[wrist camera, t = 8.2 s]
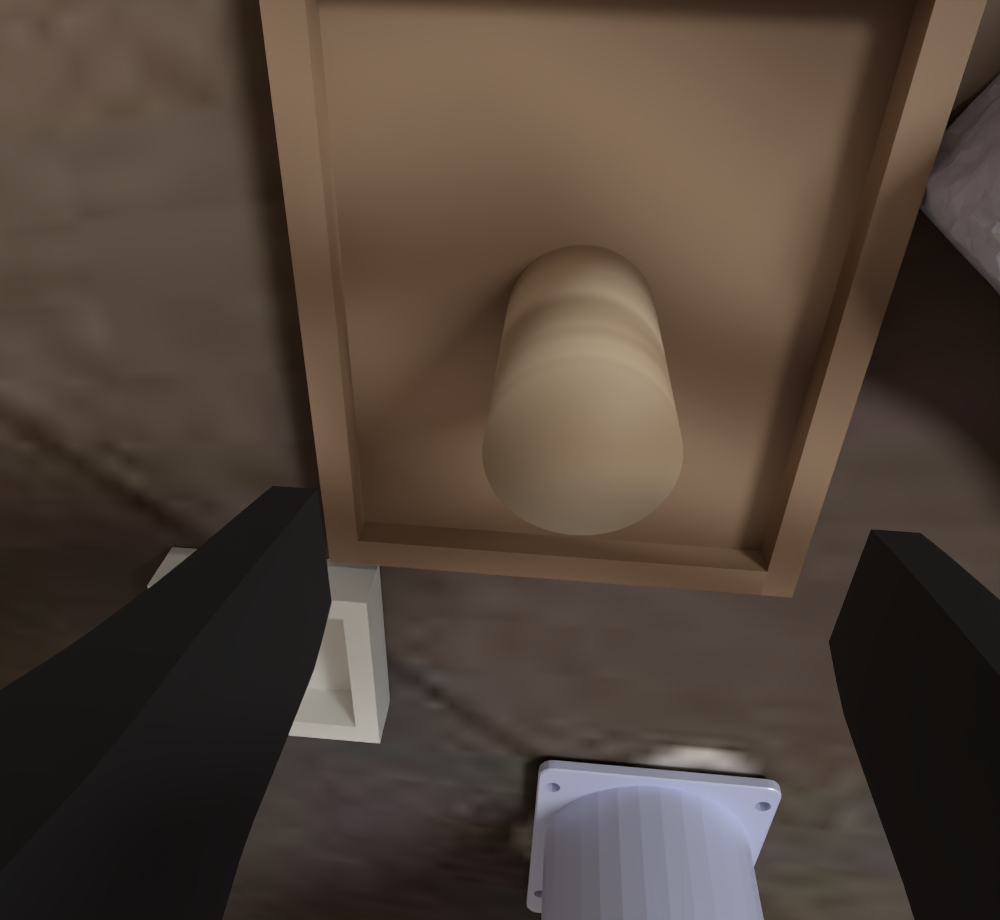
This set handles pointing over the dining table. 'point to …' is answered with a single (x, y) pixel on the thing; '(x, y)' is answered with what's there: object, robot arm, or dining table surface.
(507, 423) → the dowel
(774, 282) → the tray
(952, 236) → the stone block
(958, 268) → the dining table surface
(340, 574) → the holder
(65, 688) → the robot arm
